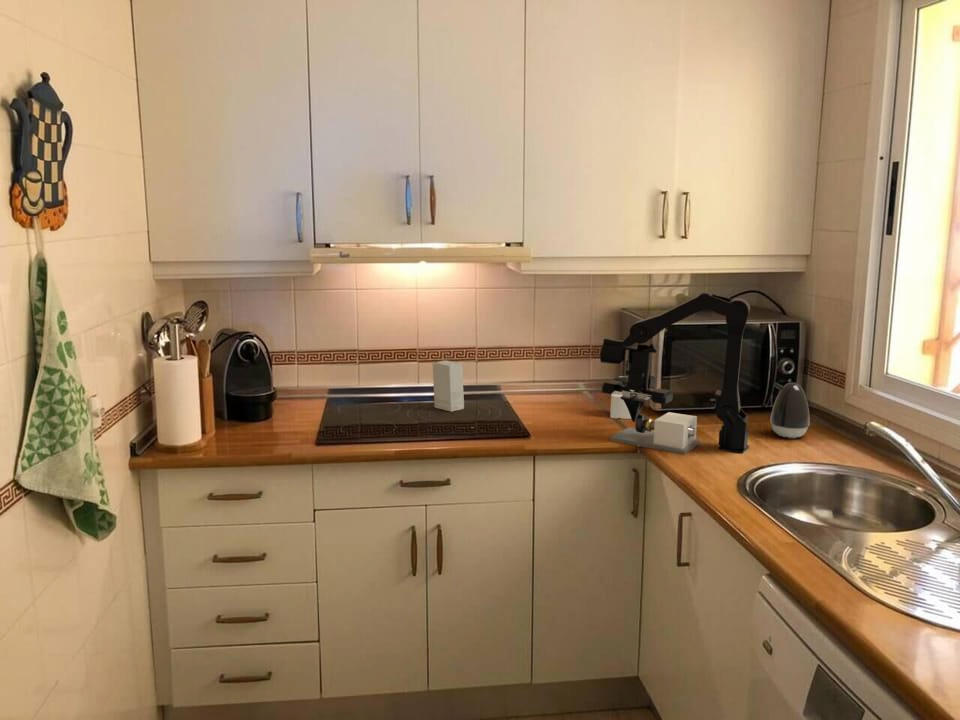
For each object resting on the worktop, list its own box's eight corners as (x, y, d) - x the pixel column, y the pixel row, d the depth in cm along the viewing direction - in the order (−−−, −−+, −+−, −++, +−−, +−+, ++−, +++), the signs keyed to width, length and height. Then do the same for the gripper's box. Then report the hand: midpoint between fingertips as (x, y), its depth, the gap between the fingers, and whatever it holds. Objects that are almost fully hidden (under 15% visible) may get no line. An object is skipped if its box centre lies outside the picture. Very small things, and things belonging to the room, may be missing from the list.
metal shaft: (696, 439, 214) (697, 421, 213) (690, 443, 210) (691, 425, 209) (642, 429, 223) (643, 412, 222) (635, 434, 218) (635, 416, 217)
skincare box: (464, 409, 252) (464, 362, 249) (450, 412, 248) (450, 365, 245) (446, 404, 258) (446, 359, 255) (432, 407, 254) (432, 361, 251)
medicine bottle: (634, 419, 240) (635, 380, 238) (610, 418, 242) (611, 379, 240) (634, 413, 247) (636, 375, 245) (611, 412, 249) (612, 374, 246)
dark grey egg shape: (778, 428, 232) (782, 377, 229) (814, 435, 224) (819, 382, 222) (762, 435, 225) (766, 382, 222) (798, 443, 217) (803, 388, 215)
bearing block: (700, 443, 217) (701, 416, 216) (684, 454, 208) (686, 426, 206) (628, 430, 229) (629, 405, 227) (610, 440, 219) (611, 414, 218)
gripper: (682, 367, 219) (677, 421, 222) (619, 356, 229) (615, 409, 232) (667, 374, 210) (662, 431, 213) (602, 363, 220) (598, 417, 223)
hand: (634, 421), depth 221 cm, fingers closed
